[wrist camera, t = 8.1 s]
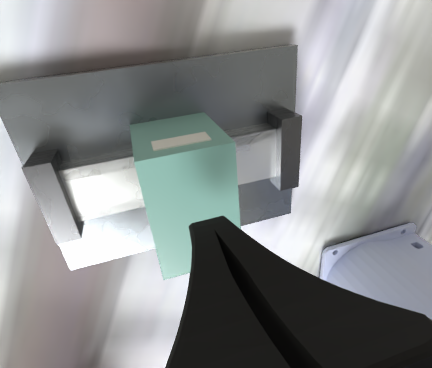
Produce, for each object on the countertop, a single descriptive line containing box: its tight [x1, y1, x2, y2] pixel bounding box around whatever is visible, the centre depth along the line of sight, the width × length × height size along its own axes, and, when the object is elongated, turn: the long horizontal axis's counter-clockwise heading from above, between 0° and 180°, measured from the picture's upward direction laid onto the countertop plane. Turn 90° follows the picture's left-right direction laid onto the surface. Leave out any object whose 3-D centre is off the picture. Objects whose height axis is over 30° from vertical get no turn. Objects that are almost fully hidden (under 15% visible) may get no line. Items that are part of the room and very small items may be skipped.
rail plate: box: [0, 45, 302, 270], centre depth 17 cm, size 15×11×3 cm
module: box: [130, 112, 241, 280], centre depth 15 cm, size 4×6×5 cm, turn 5°
